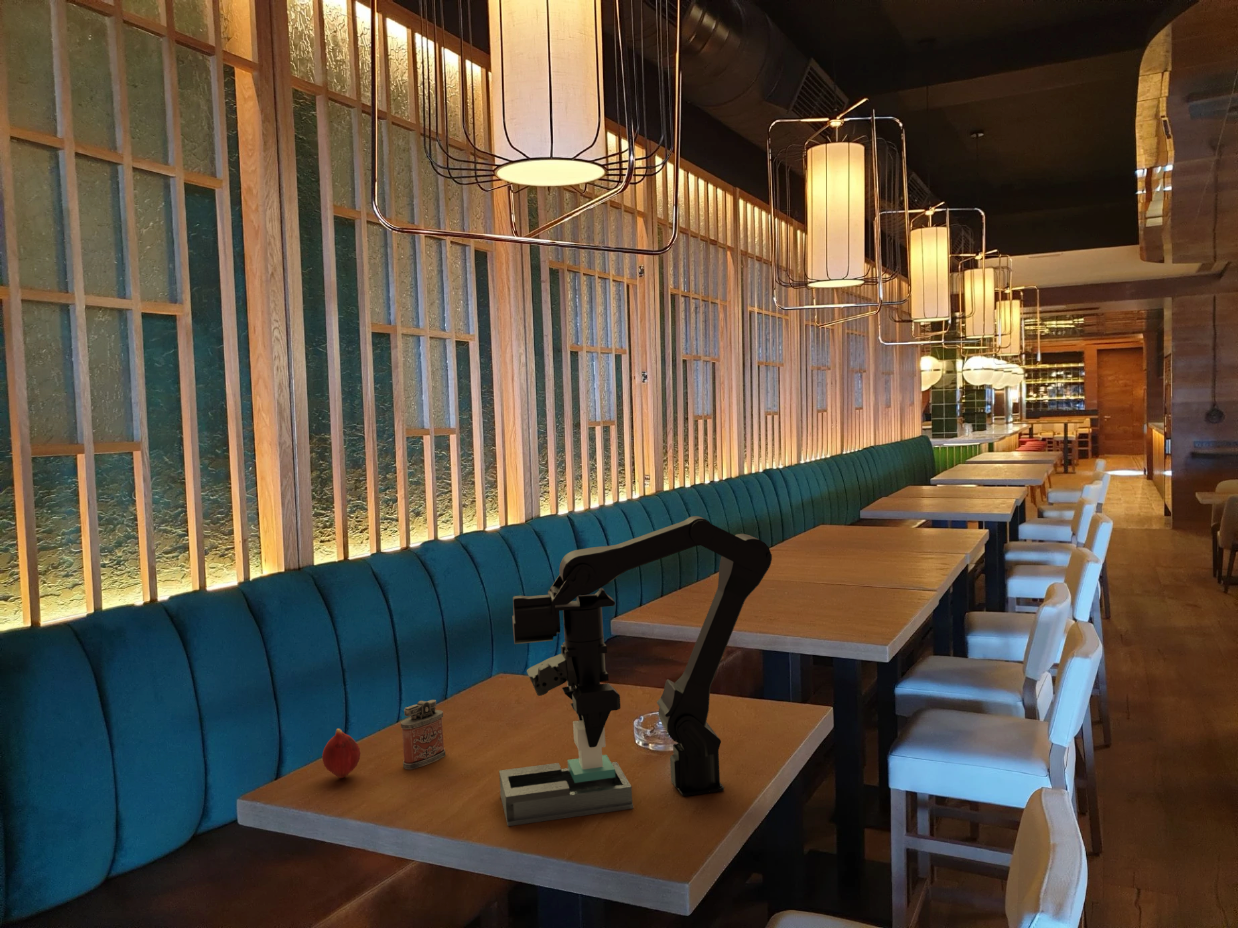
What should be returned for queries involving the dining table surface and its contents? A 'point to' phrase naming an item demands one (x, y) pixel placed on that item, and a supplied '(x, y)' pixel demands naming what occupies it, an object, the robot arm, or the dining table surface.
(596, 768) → the slider
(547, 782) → the keyhole guide
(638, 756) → the dining table surface
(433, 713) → the lighter
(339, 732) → the onion
